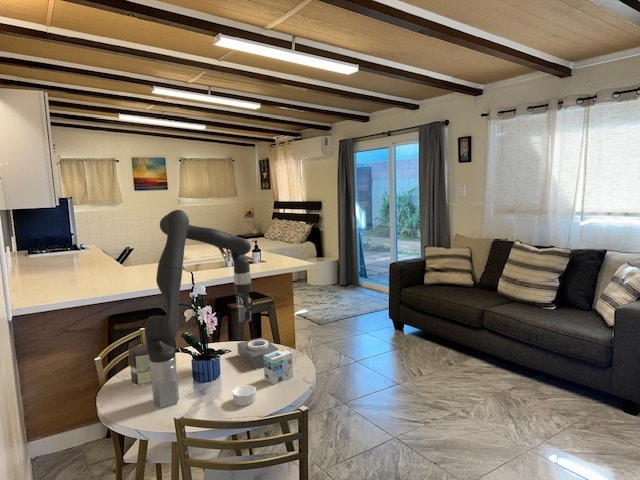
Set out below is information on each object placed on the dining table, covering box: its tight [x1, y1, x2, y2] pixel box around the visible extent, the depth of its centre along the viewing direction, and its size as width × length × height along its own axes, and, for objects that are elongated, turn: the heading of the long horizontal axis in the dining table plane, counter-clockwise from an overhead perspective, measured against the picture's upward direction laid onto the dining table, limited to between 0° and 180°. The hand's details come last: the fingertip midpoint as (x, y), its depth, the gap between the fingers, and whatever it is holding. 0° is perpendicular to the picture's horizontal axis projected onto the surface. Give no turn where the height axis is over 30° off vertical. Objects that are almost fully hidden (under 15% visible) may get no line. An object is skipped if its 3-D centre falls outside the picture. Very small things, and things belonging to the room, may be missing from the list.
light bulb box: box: [263, 348, 294, 385], centre depth 180 cm, size 11×7×11 cm, turn 131°
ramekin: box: [231, 384, 257, 407], centre depth 163 cm, size 9×9×4 cm
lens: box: [237, 303, 252, 324], centre depth 199 cm, size 6×6×8 cm
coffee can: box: [128, 344, 152, 387], centre depth 182 cm, size 10×10×14 cm
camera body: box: [236, 337, 280, 370], centre depth 202 cm, size 20×13×8 cm, turn 31°
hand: (245, 317), depth 199 cm, fingers closed on lens, 5 cm apart
